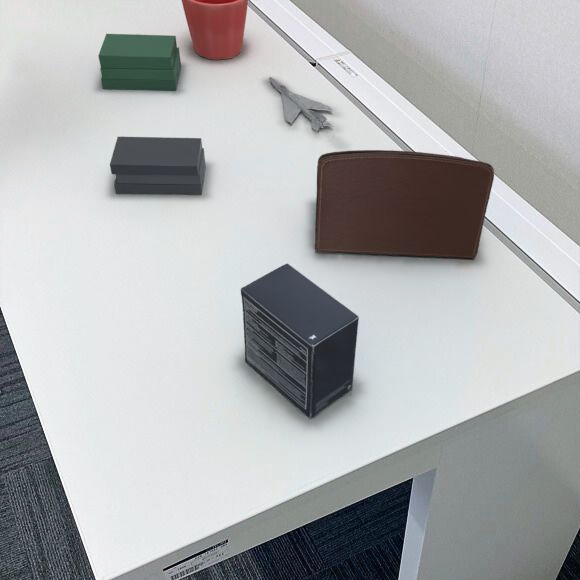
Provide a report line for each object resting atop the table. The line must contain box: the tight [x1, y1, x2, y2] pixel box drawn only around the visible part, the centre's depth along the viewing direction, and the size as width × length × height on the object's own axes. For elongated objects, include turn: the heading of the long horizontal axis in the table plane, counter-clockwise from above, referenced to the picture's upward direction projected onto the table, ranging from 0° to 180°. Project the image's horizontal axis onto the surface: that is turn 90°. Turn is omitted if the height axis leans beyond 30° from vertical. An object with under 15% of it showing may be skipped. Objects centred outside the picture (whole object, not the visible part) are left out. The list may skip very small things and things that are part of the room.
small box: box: [240, 263, 360, 419], centre depth 76 cm, size 11×6×10 cm, turn 44°
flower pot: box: [181, 0, 249, 61], centre depth 124 cm, size 11×11×10 cm
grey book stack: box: [109, 136, 207, 196], centre depth 100 cm, size 11×6×4 cm, turn 93°
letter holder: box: [314, 149, 495, 260], centre depth 92 cm, size 10×20×14 cm, turn 90°
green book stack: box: [100, 47, 182, 92], centre depth 118 cm, size 11×8×3 cm
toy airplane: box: [268, 76, 335, 138], centre depth 114 cm, size 8×21×2 cm, turn 33°
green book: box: [98, 33, 178, 70], centre depth 117 cm, size 10×7×2 cm, turn 93°
